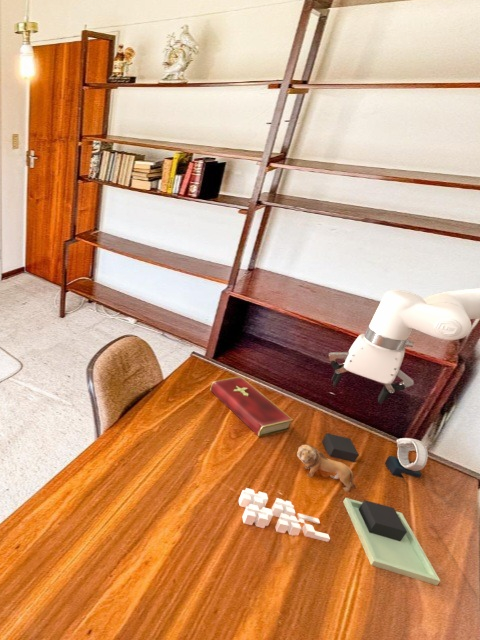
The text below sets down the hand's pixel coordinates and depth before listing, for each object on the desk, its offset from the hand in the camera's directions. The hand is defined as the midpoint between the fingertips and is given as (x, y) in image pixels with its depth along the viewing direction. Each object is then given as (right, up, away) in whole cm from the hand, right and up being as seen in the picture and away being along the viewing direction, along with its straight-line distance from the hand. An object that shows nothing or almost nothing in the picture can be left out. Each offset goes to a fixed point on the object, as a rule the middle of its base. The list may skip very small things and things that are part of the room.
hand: (356, 392), depth 105 cm
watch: (+14, -23, +2) cm, 27 cm away
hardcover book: (-17, -12, +22) cm, 30 cm away
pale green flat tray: (-6, -30, -15) cm, 34 cm away
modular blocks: (-28, -27, -12) cm, 41 cm away
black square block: (-5, -28, -12) cm, 31 cm away
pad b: (+1, -19, +8) cm, 21 cm away
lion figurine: (-10, -23, -1) cm, 25 cm away
